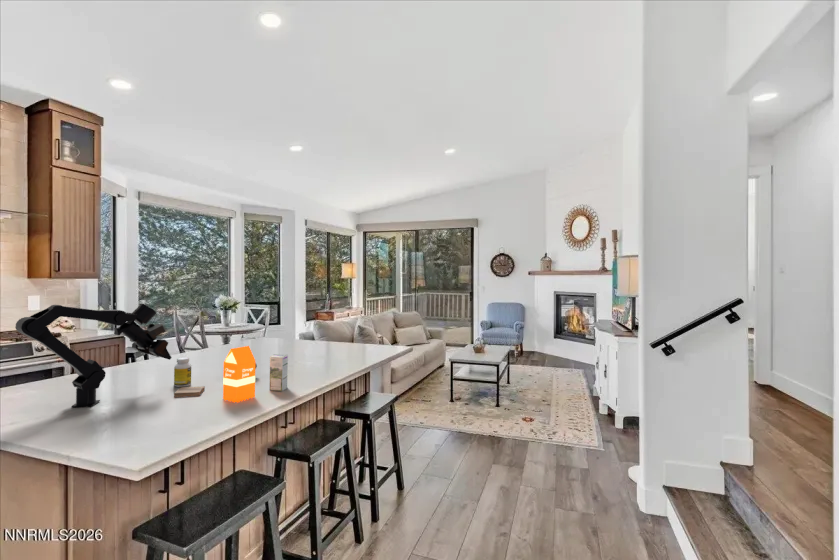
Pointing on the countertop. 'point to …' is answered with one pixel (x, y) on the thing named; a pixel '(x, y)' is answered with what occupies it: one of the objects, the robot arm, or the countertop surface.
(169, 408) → the countertop surface
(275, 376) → the syrup box
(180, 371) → the pill bottle
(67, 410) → the countertop surface
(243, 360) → the orange juice
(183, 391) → the base tile
